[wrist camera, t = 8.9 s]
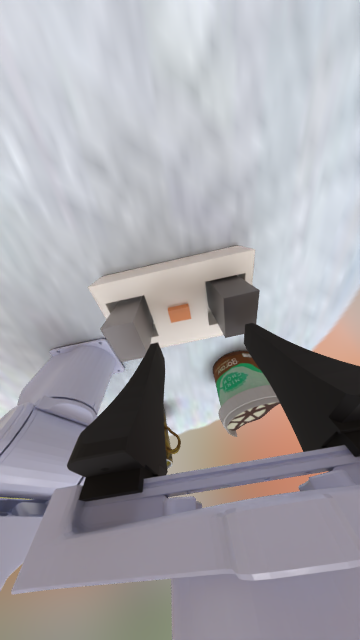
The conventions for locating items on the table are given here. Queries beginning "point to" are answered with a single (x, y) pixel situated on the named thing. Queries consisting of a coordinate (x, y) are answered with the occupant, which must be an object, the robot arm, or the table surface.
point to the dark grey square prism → (232, 304)
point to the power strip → (176, 292)
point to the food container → (241, 390)
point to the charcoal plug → (129, 328)
